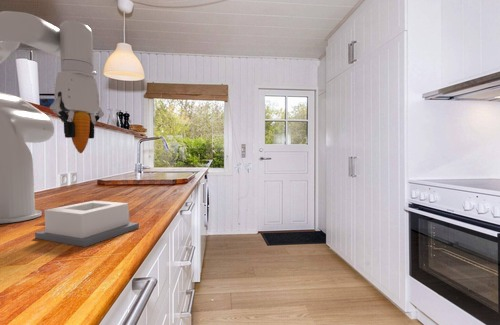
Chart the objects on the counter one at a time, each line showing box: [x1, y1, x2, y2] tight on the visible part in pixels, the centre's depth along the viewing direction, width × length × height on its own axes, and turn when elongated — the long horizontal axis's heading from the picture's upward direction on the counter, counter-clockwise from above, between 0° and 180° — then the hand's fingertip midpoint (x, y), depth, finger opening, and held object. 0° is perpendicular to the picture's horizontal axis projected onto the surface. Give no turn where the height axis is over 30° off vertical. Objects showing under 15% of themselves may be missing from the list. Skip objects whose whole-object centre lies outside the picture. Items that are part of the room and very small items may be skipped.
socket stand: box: [34, 200, 140, 248], centre depth 63 cm, size 16×14×6 cm
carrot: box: [71, 111, 90, 154], centre depth 75 cm, size 5×5×15 cm
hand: (80, 137), depth 75 cm, fingers closed on carrot, 4 cm apart
